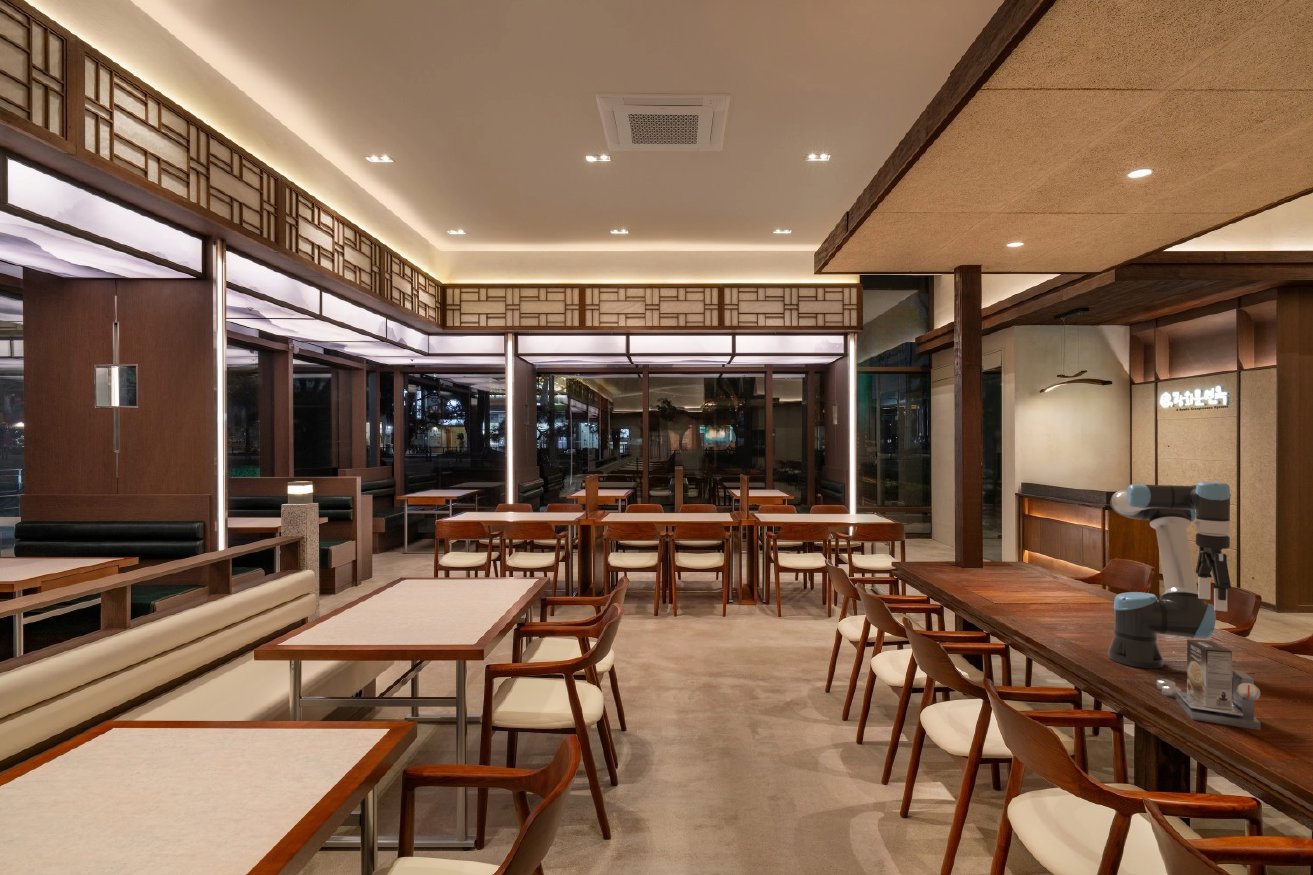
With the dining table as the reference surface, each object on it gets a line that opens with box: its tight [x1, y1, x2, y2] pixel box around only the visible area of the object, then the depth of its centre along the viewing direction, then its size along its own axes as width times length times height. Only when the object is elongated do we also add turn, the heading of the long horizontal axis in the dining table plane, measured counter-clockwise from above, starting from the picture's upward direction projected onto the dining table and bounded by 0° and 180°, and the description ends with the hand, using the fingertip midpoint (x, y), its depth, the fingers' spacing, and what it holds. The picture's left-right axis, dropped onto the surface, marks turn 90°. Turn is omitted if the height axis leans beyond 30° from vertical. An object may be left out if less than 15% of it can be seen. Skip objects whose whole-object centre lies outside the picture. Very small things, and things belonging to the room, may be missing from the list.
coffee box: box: [1186, 639, 1233, 709], centre depth 170 cm, size 9×6×16 cm
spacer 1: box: [1156, 678, 1176, 691], centre depth 187 cm, size 4×4×2 cm
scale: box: [1175, 670, 1262, 731], centre depth 169 cm, size 14×15×12 cm
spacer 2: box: [1161, 684, 1182, 699], centre depth 182 cm, size 4×4×2 cm
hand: (1212, 604), depth 182 cm, fingers open, 13 cm apart
